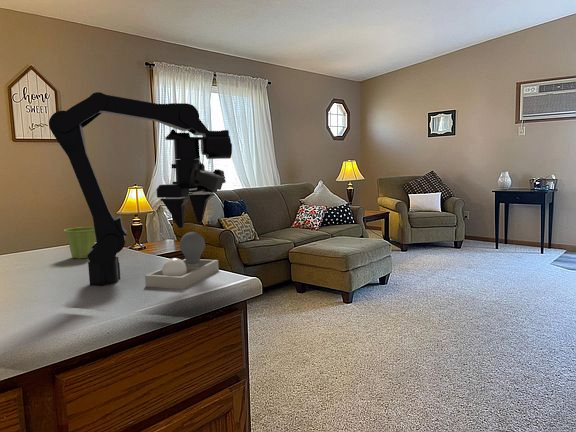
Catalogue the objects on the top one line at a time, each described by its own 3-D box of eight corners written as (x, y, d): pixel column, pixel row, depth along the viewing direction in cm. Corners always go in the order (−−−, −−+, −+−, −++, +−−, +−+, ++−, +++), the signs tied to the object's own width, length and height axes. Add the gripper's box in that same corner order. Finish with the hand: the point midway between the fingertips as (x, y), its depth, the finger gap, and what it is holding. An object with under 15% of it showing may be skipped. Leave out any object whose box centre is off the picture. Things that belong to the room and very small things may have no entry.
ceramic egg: (179, 285, 95) (178, 261, 94) (157, 284, 97) (156, 260, 96) (191, 279, 100) (190, 256, 99) (171, 278, 102) (169, 255, 101)
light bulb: (209, 270, 109) (207, 230, 108) (201, 275, 103) (200, 233, 102) (185, 269, 110) (183, 230, 109) (177, 275, 104) (175, 234, 103)
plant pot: (66, 255, 136) (64, 228, 135) (99, 252, 140) (97, 225, 139) (65, 261, 128) (62, 232, 127) (100, 257, 132) (98, 229, 131)
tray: (183, 293, 93) (182, 277, 92) (145, 290, 95) (144, 275, 95) (218, 273, 109) (218, 260, 109) (186, 271, 112) (185, 258, 112)
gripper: (199, 158, 92) (202, 231, 94) (234, 158, 110) (237, 220, 112) (153, 159, 95) (157, 230, 97) (195, 160, 113) (197, 220, 115)
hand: (190, 225), depth 105 cm, fingers open, 9 cm apart
